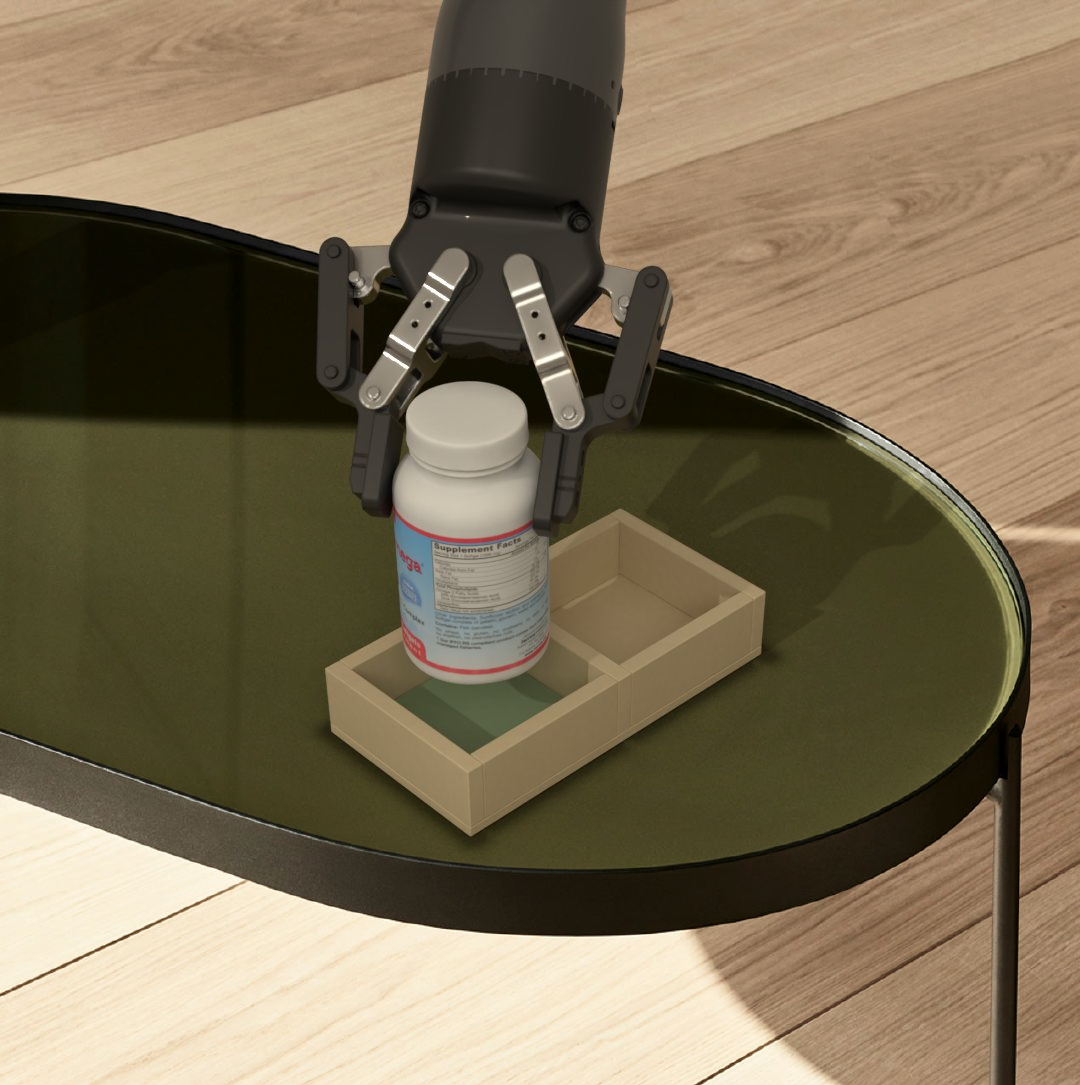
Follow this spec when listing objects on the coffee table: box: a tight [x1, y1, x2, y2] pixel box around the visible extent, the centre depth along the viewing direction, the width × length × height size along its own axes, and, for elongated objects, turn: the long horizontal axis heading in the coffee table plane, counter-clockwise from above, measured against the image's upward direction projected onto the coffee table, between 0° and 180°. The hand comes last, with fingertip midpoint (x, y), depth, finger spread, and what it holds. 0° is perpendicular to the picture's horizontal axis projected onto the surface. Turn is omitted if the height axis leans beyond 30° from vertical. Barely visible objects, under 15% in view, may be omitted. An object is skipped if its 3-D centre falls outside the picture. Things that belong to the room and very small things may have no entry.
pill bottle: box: [392, 380, 550, 685], centre depth 77 cm, size 6×6×11 cm
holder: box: [324, 508, 767, 837], centre depth 85 cm, size 17×9×4 cm, turn 133°
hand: (460, 522), depth 75 cm, fingers closed on pill bottle, 6 cm apart
